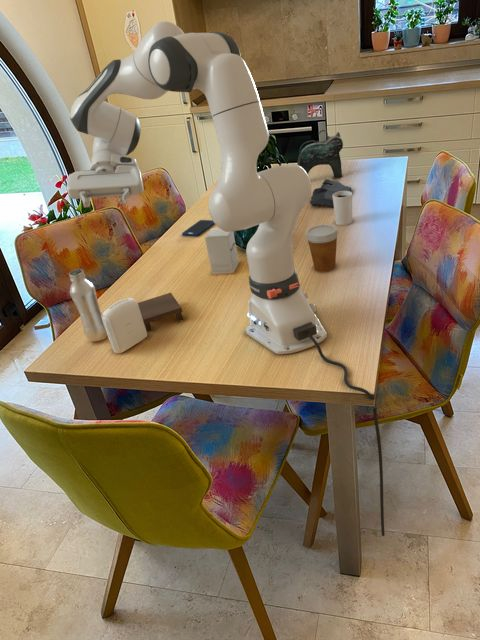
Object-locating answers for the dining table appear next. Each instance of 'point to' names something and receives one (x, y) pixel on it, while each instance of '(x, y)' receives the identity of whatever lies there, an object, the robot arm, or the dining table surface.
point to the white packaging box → (221, 251)
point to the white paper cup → (343, 207)
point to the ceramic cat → (322, 154)
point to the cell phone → (198, 228)
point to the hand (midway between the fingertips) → (104, 204)
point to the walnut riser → (159, 309)
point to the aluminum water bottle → (87, 305)
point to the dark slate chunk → (327, 193)
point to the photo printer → (124, 324)
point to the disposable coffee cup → (323, 246)
